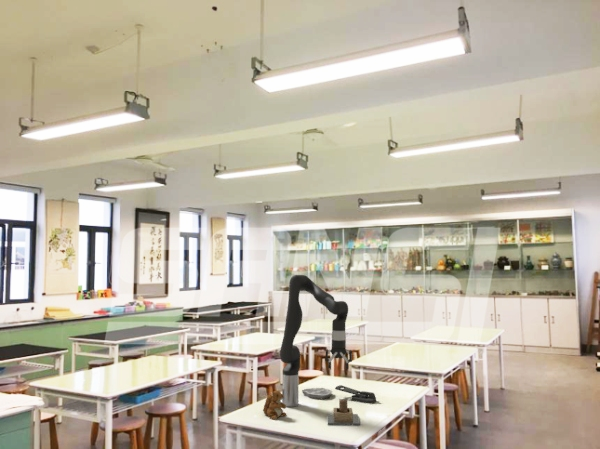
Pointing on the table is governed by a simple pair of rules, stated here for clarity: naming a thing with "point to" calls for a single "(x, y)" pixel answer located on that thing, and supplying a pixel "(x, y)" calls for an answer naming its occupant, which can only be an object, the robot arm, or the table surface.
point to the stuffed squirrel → (274, 405)
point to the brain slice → (317, 393)
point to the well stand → (343, 418)
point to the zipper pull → (359, 395)
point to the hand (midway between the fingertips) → (338, 369)
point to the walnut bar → (342, 405)
